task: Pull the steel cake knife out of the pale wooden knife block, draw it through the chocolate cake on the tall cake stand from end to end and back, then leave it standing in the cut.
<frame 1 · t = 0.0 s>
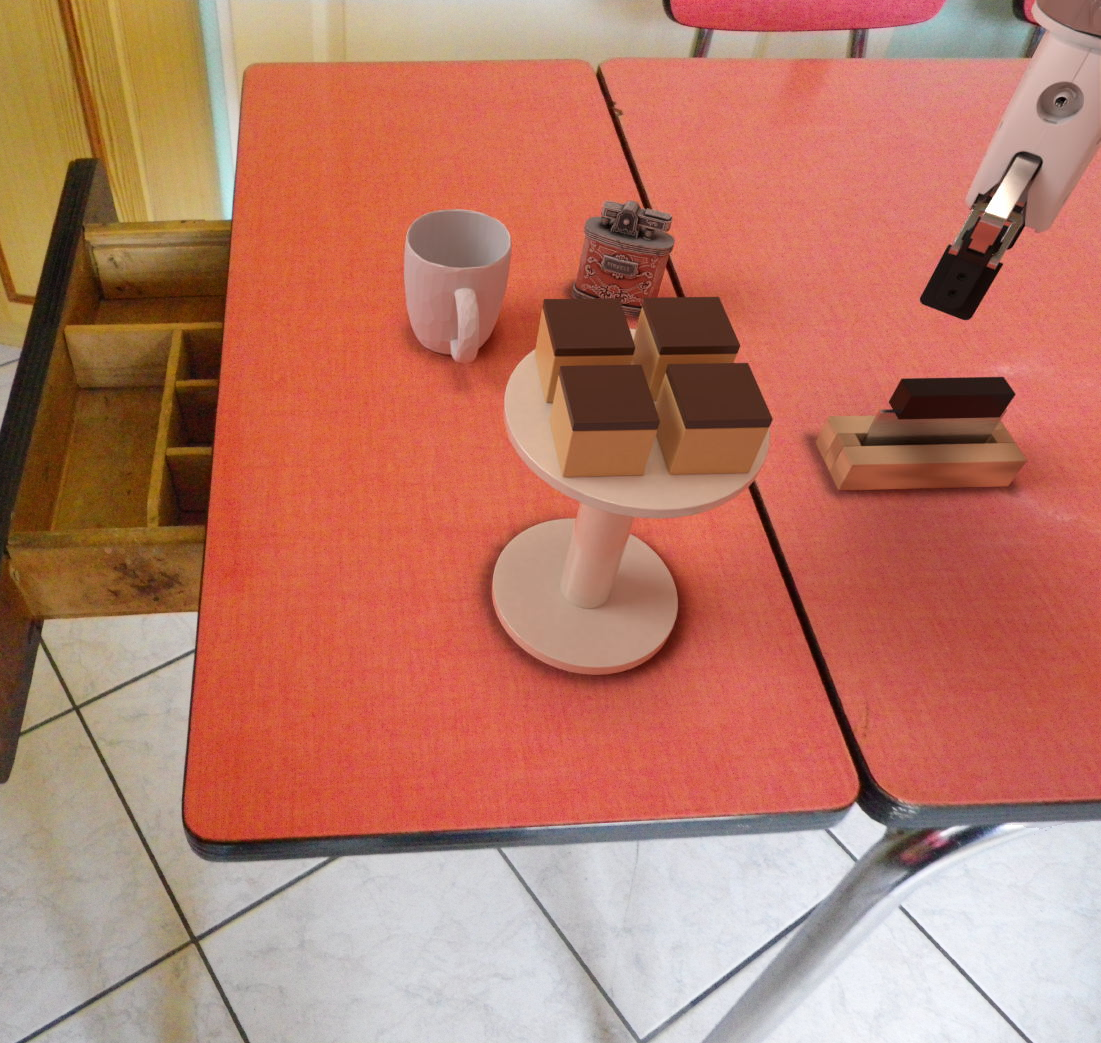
hand: (966, 274, 63), 19 cm above the table, tool pointing down, fingers open, 9 cm apart
mug: (454, 348, 86), on the table
cake stand: (582, 596, 68), on the table
knife block: (910, 464, 77), on the table
knife: (933, 426, 74), in the knife block
cake: (636, 410, 54), resting on cake stand
lighter: (613, 302, 91), on the table
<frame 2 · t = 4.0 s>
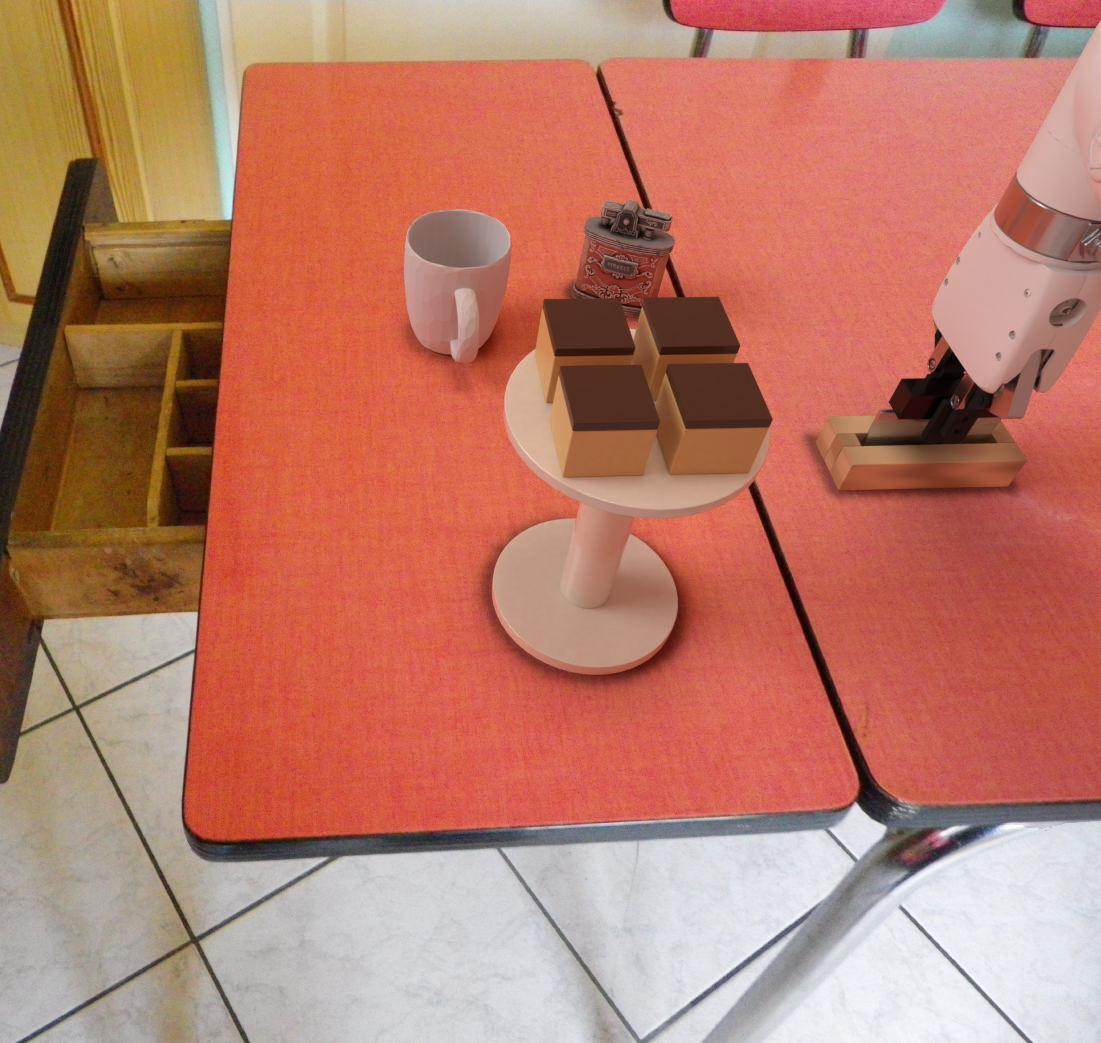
hand: (934, 425, 74), 4 cm above the table, tool pointing down, fingers closed on knife, 2 cm apart
knife: (933, 426, 74), in the knife block, touching gripper
everything else where it was.
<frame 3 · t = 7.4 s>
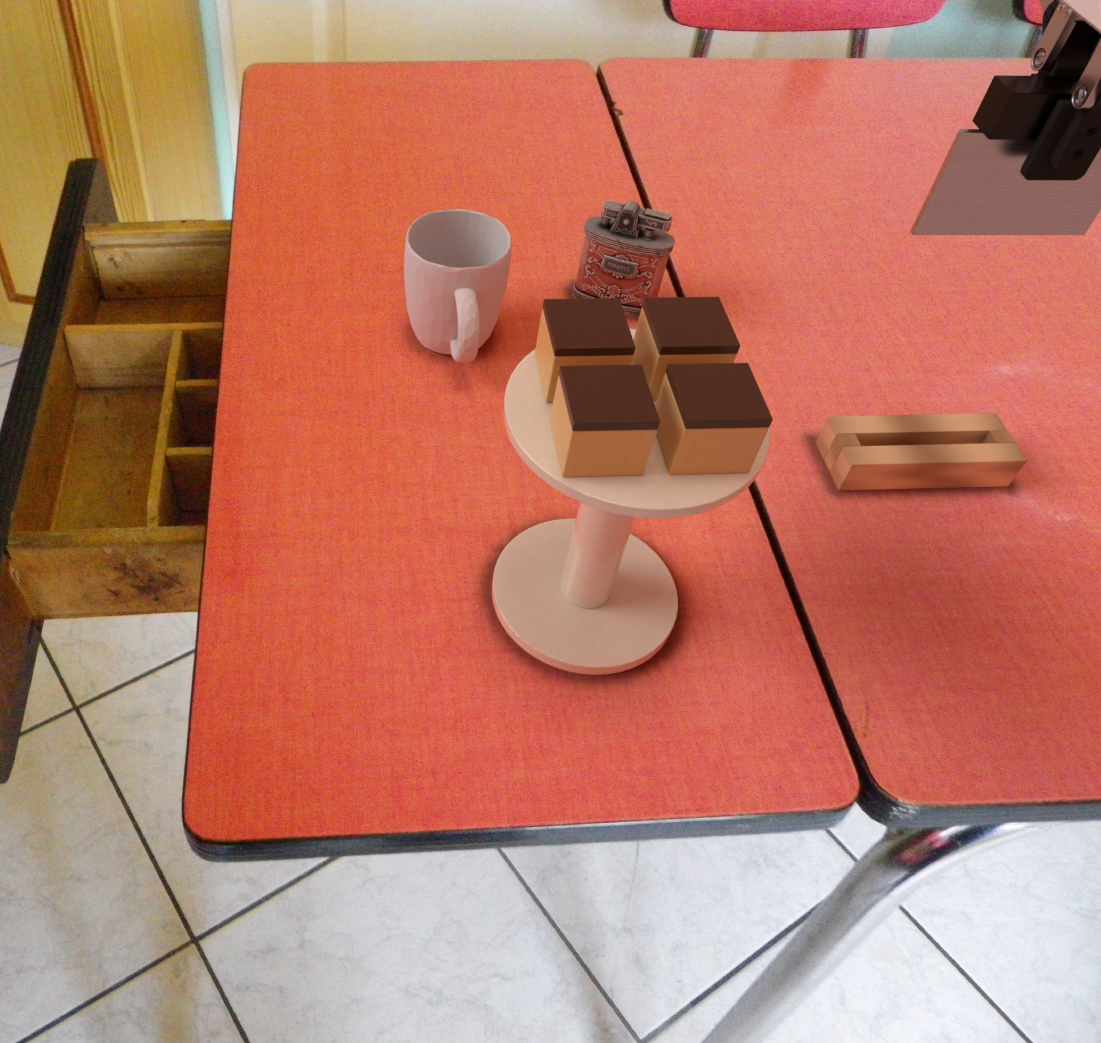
hand: (1037, 161, 51), 30 cm above the table, tool pointing down, fingers closed on knife, 2 cm apart
knife: (1036, 163, 51), point 30 cm above the table, touching gripper
everything else where it was.
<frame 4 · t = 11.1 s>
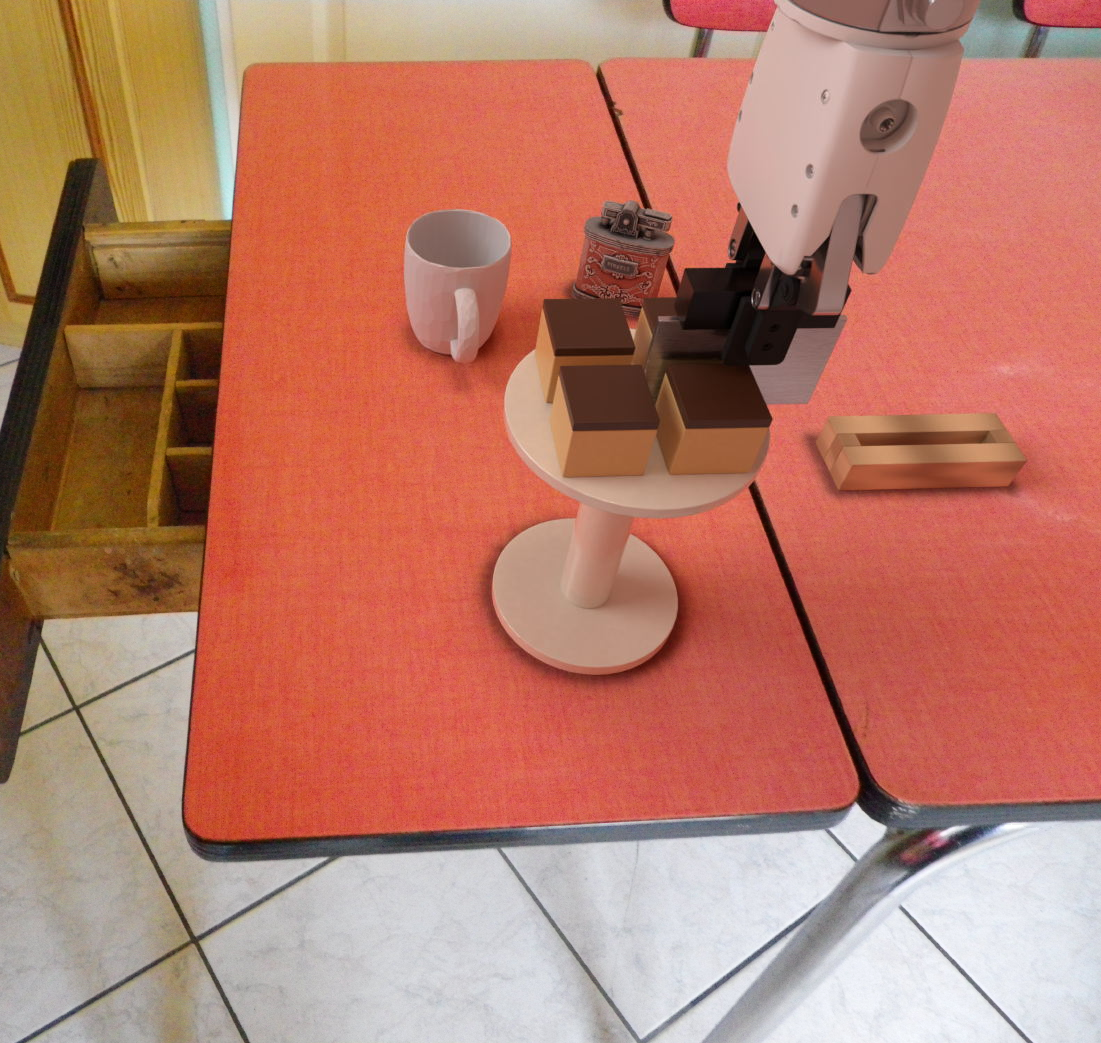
hand: (743, 342, 51), 23 cm above the table, tool pointing down, fingers closed on knife, 2 cm apart
knife: (742, 344, 51), point 23 cm above the table, touching gripper
everything else where it was.
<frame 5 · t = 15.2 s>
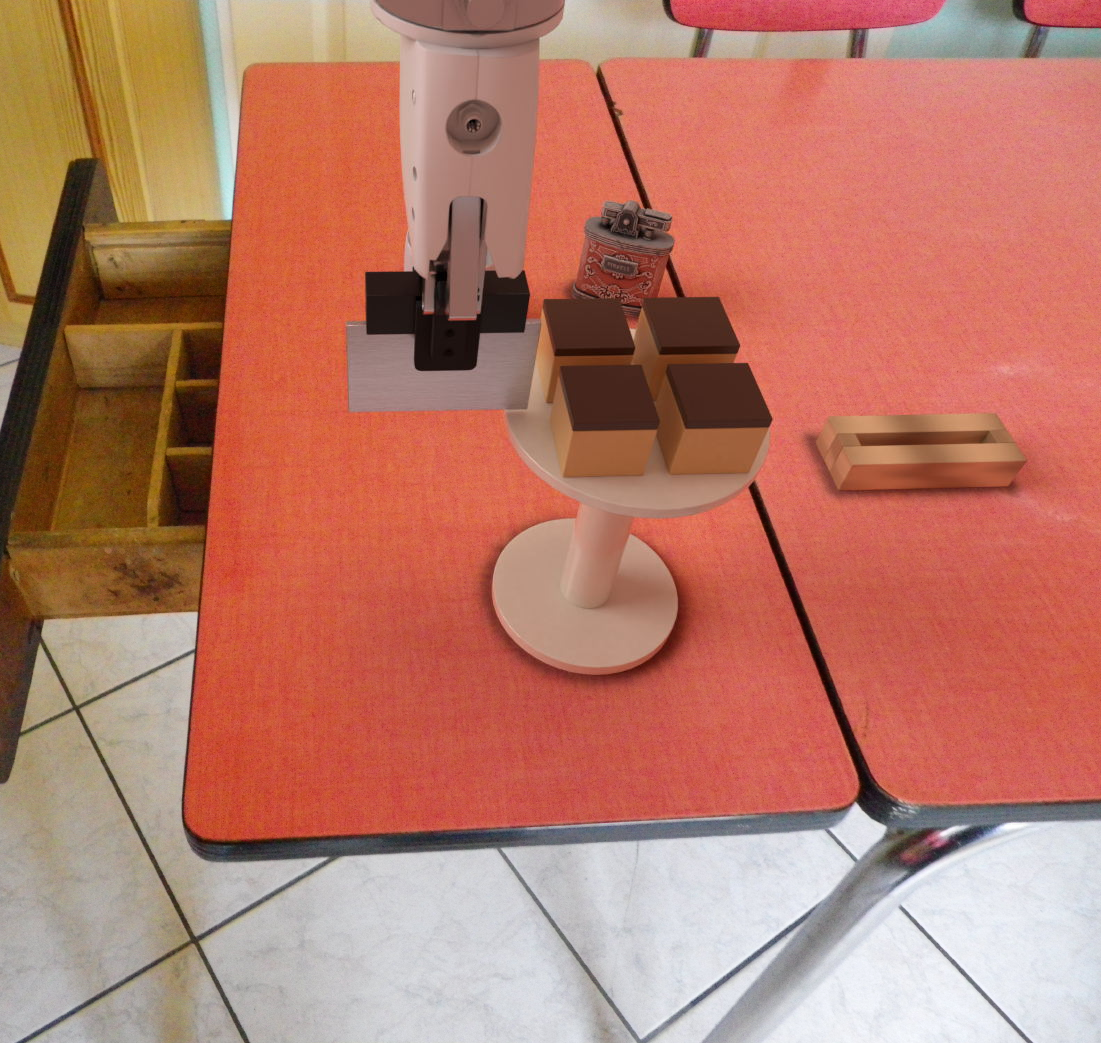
hand: (442, 347, 50), 23 cm above the table, tool pointing down, fingers closed on knife, 2 cm apart
knife: (442, 349, 50), point 23 cm above the table, touching gripper
everything else where it was.
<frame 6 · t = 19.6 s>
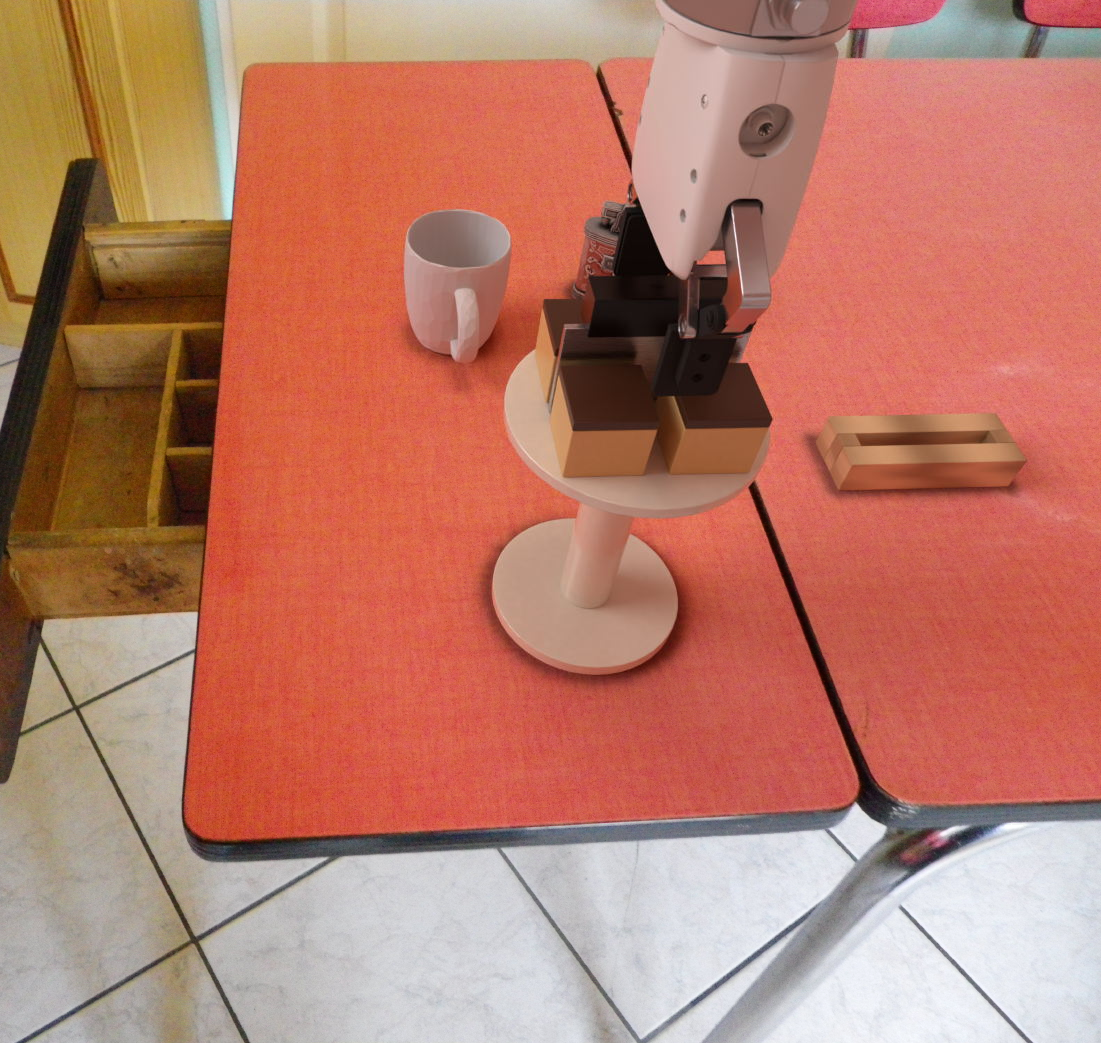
hand: (660, 329, 50), 24 cm above the table, tool pointing down, fingers open, 9 cm apart
knife: (651, 351, 51), on the cake stand, point 22 cm above the table
everything else where it was.
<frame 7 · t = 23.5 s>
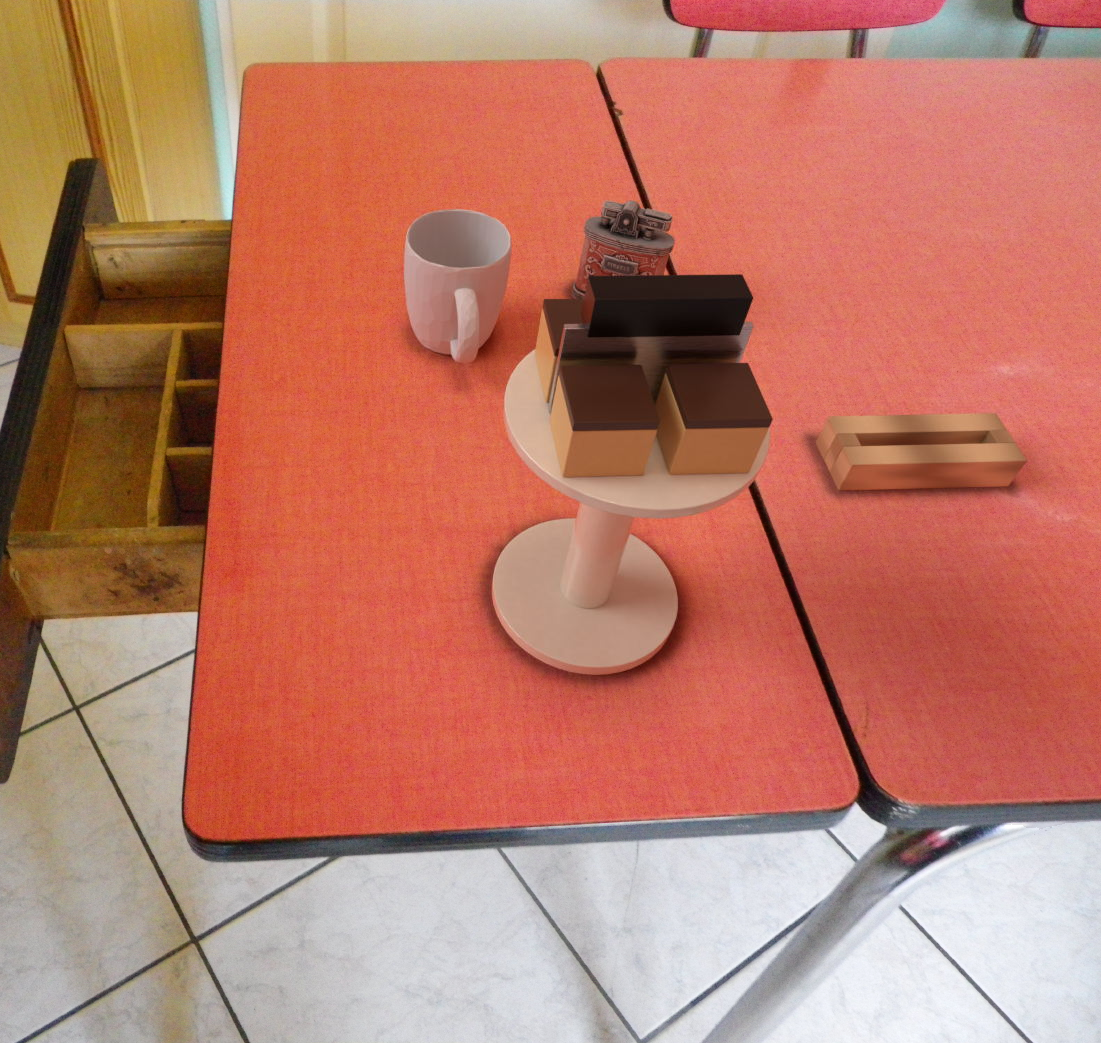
nothing on the table moved.
at the end: knife 0.1 cm off-centre on the cake, point 4.2 cm above the cake's base; the gripper is holding nothing; knife tilted 0° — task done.
